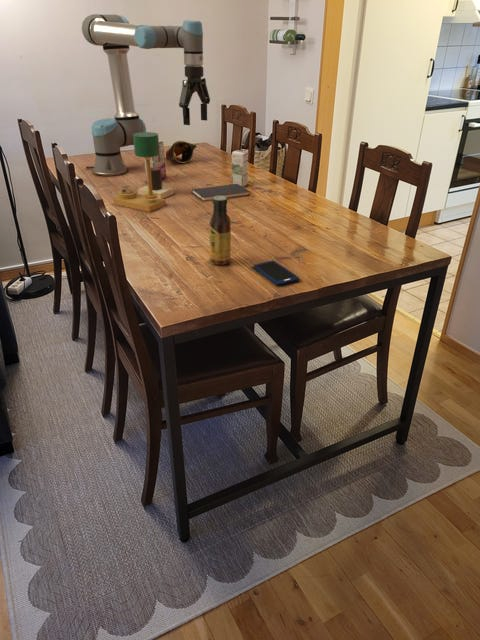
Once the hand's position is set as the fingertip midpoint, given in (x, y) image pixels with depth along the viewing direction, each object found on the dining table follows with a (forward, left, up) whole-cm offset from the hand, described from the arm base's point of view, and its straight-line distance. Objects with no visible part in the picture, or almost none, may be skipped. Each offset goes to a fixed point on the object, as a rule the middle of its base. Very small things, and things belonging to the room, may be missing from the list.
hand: (195, 122), depth 203 cm
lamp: (+3, -37, -22) cm, 43 cm away
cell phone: (+71, -66, -26) cm, 100 cm away
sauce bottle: (+53, -67, -26) cm, 89 cm away
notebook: (+17, -8, -26) cm, 32 cm away
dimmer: (-6, -23, -26) cm, 35 cm away
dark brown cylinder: (-6, -23, -23) cm, 33 cm away
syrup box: (+17, +8, -26) cm, 32 cm away
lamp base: (-3, -37, -26) cm, 45 cm away
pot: (-31, +30, -26) cm, 51 cm away
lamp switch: (-9, -37, -22) cm, 44 cm away
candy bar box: (-20, -5, -26) cm, 33 cm away
